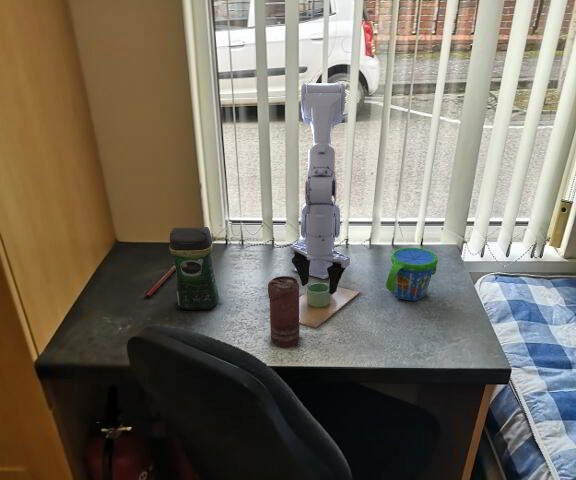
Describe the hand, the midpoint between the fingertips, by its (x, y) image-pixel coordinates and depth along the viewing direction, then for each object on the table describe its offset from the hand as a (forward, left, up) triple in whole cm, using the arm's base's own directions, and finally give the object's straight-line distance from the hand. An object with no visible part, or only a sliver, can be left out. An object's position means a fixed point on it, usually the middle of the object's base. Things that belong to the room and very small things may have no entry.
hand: (318, 288), depth 133 cm
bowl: (0, 0, -4) cm, 4 cm away
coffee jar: (-24, -15, -4) cm, 29 cm away
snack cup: (+16, +16, -4) cm, 23 cm away
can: (+3, -18, -4) cm, 19 cm away
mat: (0, 0, -4) cm, 4 cm away
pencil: (-40, -11, -4) cm, 42 cm away
